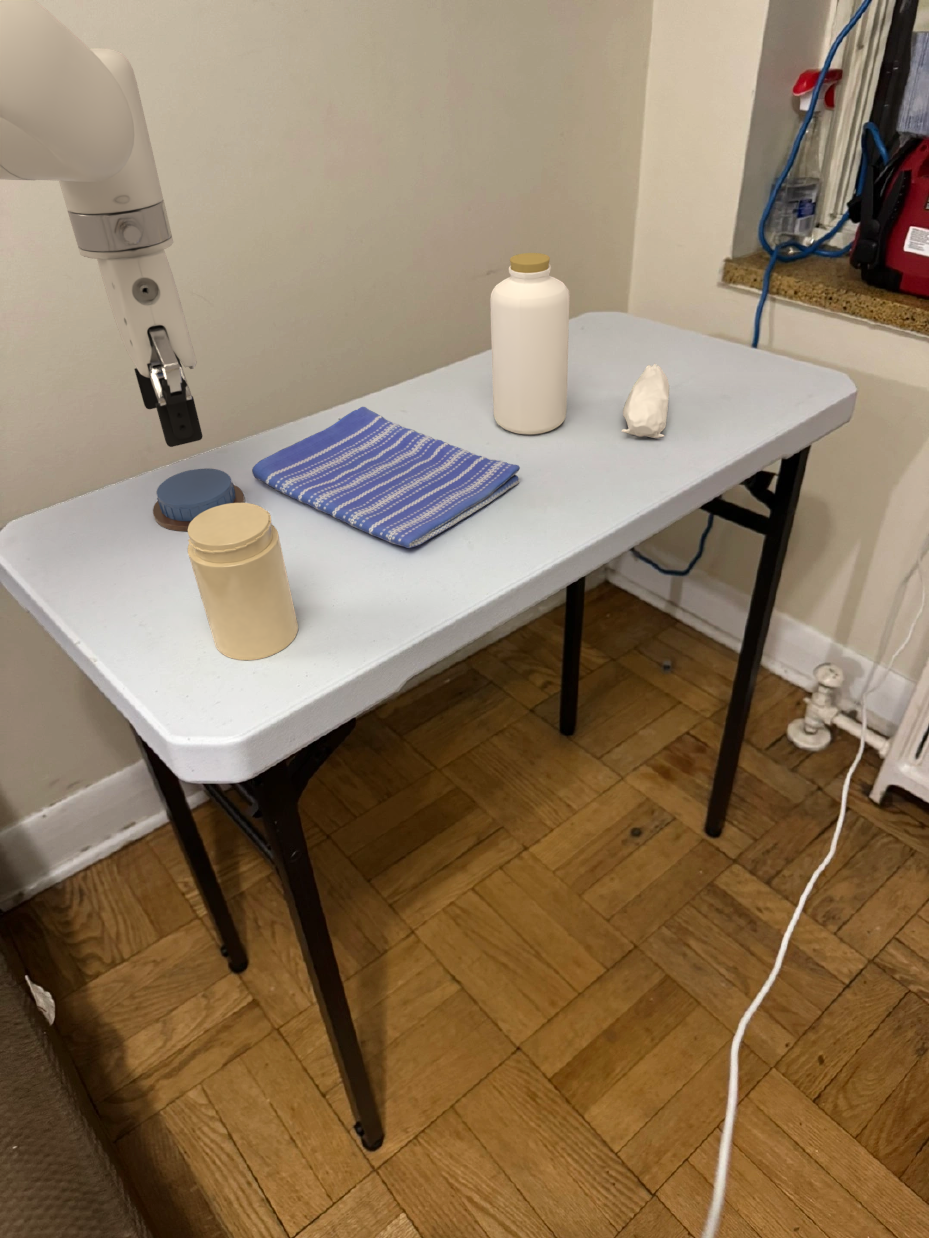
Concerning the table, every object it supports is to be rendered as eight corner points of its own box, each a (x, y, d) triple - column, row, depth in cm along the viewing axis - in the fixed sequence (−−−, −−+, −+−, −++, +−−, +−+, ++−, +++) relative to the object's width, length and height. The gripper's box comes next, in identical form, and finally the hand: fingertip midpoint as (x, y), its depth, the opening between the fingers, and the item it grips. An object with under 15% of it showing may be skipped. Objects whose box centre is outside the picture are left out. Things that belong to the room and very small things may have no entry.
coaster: (165, 541, 83) (163, 535, 82) (146, 500, 89) (144, 495, 89) (255, 514, 86) (254, 509, 85) (231, 477, 92) (230, 472, 92)
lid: (225, 477, 91) (221, 461, 90) (244, 508, 86) (240, 491, 85) (154, 496, 89) (149, 480, 87) (169, 529, 83) (164, 512, 82)
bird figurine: (618, 417, 102) (619, 435, 93) (633, 358, 99) (635, 371, 90) (659, 426, 102) (664, 445, 93) (676, 367, 99) (682, 381, 90)
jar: (227, 671, 67) (194, 558, 61) (205, 624, 72) (172, 515, 66) (309, 642, 70) (286, 530, 63) (283, 599, 74) (259, 491, 68)
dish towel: (365, 424, 101) (362, 401, 99) (525, 482, 88) (525, 457, 86) (247, 482, 91) (242, 458, 89) (408, 558, 78) (405, 532, 77)
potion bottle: (519, 401, 104) (517, 243, 93) (579, 416, 100) (585, 253, 89) (479, 427, 99) (473, 264, 88) (541, 444, 95) (543, 275, 84)
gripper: (192, 243, 66) (237, 448, 76) (147, 204, 79) (191, 385, 89) (91, 259, 64) (151, 469, 74) (61, 216, 76) (116, 401, 86)
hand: (173, 423), depth 81 cm, fingers open, 9 cm apart
